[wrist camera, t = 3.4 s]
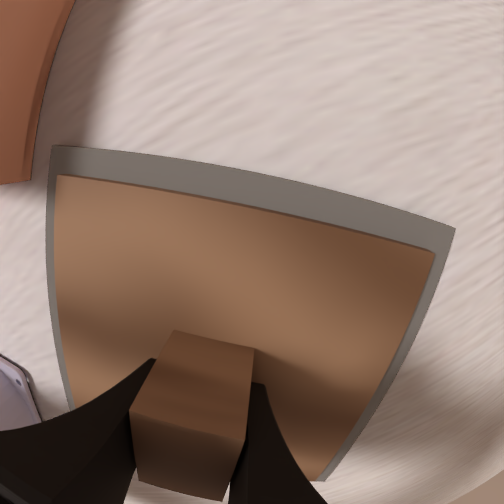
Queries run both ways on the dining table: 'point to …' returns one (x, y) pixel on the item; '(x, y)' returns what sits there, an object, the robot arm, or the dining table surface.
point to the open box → (25, 76)
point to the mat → (264, 196)
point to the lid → (224, 321)
